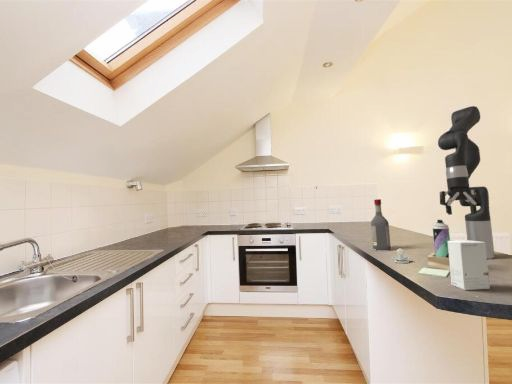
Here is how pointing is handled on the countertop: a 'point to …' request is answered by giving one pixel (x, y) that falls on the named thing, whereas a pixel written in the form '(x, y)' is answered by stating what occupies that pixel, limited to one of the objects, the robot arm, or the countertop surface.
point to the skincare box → (468, 264)
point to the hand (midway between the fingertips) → (461, 214)
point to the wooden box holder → (438, 262)
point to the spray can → (441, 239)
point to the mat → (434, 272)
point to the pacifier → (401, 257)
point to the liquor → (380, 229)
